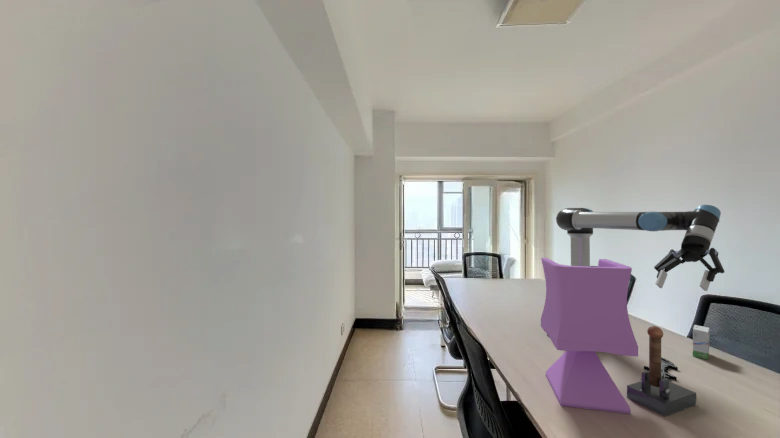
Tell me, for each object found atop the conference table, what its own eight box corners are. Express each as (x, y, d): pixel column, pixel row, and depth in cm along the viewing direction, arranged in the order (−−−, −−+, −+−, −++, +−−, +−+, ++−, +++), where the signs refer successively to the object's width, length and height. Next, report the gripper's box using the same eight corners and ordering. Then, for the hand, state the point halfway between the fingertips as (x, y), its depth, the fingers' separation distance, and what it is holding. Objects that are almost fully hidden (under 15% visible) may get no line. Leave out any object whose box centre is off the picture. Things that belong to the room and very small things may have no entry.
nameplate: (646, 353, 138) (677, 360, 131) (646, 357, 138) (677, 364, 131) (641, 378, 117) (678, 387, 111) (641, 382, 117) (678, 392, 111)
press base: (696, 405, 103) (696, 377, 103) (664, 416, 97) (665, 387, 97) (657, 387, 113) (657, 362, 113) (626, 397, 107) (626, 370, 107)
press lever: (666, 386, 103) (666, 327, 102) (658, 389, 101) (658, 329, 101) (652, 380, 106) (652, 323, 106) (644, 382, 105) (644, 325, 105)
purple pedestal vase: (606, 380, 118) (606, 258, 118) (638, 417, 97) (638, 269, 96) (540, 373, 123) (540, 257, 123) (557, 407, 102) (557, 266, 101)
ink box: (708, 360, 134) (708, 332, 134) (692, 356, 138) (692, 329, 138) (709, 353, 140) (709, 327, 140) (693, 350, 144) (694, 324, 143)
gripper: (748, 244, 109) (732, 296, 102) (666, 248, 132) (648, 290, 126) (735, 230, 107) (718, 282, 101) (654, 237, 131) (636, 279, 125)
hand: (679, 287), depth 113 cm, fingers open, 13 cm apart
